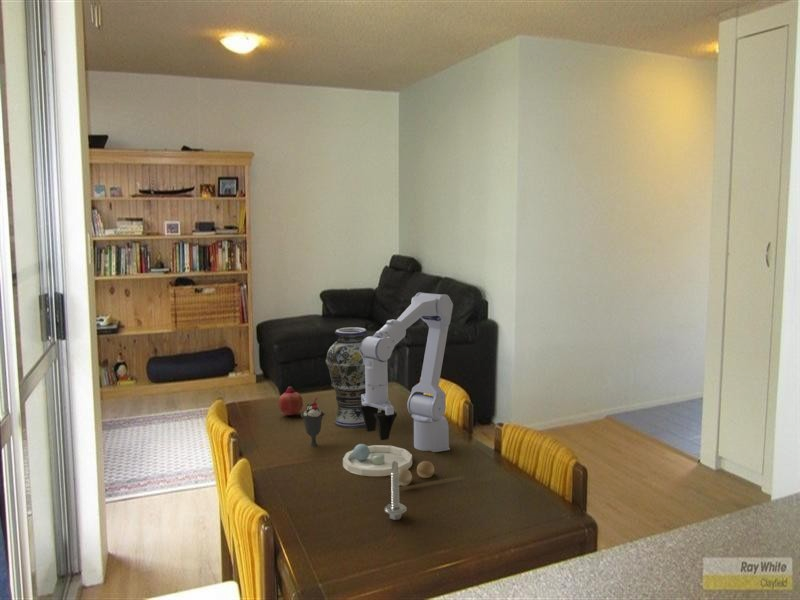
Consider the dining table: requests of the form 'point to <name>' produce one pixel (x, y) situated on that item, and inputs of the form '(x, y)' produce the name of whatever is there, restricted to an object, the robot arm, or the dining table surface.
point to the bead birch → (404, 477)
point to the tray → (378, 468)
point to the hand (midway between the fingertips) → (377, 435)
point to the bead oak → (425, 469)
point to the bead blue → (361, 452)
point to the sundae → (313, 421)
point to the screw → (395, 495)
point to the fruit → (290, 402)
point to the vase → (348, 376)
